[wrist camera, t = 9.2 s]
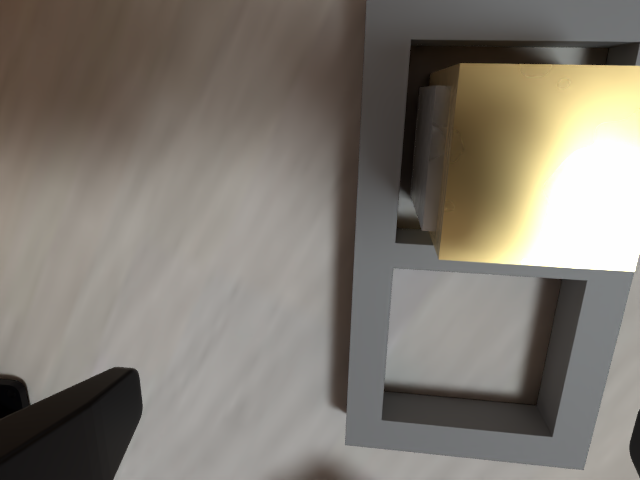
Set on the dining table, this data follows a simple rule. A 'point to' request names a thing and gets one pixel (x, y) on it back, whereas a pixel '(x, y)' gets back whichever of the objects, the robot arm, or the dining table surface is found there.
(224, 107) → the dining table surface
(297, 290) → the dining table surface
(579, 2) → the gray rectangular tray
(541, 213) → the metal-backed wooden cube
